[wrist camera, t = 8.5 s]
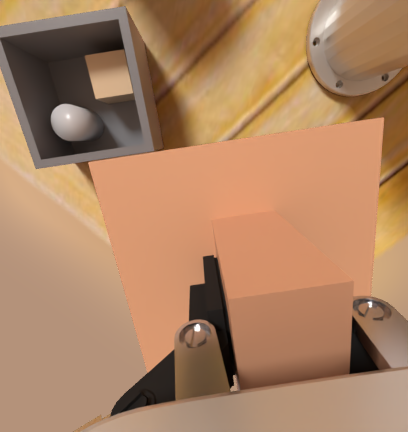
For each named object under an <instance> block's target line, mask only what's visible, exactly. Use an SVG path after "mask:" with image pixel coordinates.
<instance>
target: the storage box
mask: <svg viewBox="0 0 408 432" xmlns="http://www.w3.org/2000/svg"><path fill="white" fill-rule="evenodd" d="M0 68H1V71H2V74H3V76H4V79H5V82H6V85H7V88H8V91H9V94H10V96H11V99H12V102H13V105H14V108H15V111H16V114H17V116H18V119H19V122H20V125H21V128H22V131H23V134H24V136H25V139H26V142H27V145H28V148H29V151H30V154H31V156H32V159H33V162H34V165H35V168H36V169H39V168H46V167H53V166H59V165H66V164H72V163H79V162H86V161H92V160H99V159H105V158H112V157H118V156H125V155H132V154H138V153H145V152H151V151H156V150H160V149H163V148H164V145H163V140H162V135H161V129H160V124H159V119H158V113H157V108H156V103H155V97H154V92H153V87H152V81H151V76H150V71H149V66H148V60H147V55H146V50H145V44H144V41H143V39H142V37H141V35H140V33H139V31H138V29H137V28H136V26H135V24H134V22H133V20H132V18H131V16H130V14H129V12H128V11H127V9H126V7H125V6H124V7H118V8H112V9H105V10H99V11H93V12H86V13H80V14H74V15H67V16H61V17H55V18H49V19H42V20H36V21H30V22H23V23H17V24H11V25H4V26H0Z"/></svg>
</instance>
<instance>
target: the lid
mask: <svg viewBox="0 0 408 432" xmlns="http://www.w3.org/2000/svg"><path fill="white" fill-rule="evenodd" d="M383 127H384V117H383V118H374V119H367V120H361V121H354V122H348V123H341V124H334V125H328V126H321V127H315V128H308V129H302V130H295V131H288V132H282V133H275V134H269V135H262V136H256V137H249V138H242V139H236V140H229V141H223V142H216V143H209V144H203V145H196V146H190V147H183V148H177V149H170V150H163V151H157V152H150V153H144V154H137V155H130V156H124V157H117V158H111V159H104V160H98V161H92V162H88V165H89V168H90V172H91V175H92V179H93V182H94V186H95V189H96V193H97V196H98V200H99V203H100V207H101V210H102V214H103V217H104V221H105V224H106V228H107V231H108V235H109V238H110V242H111V245H112V249H113V253H114V256H115V260H116V263H117V267H118V270H119V274H120V277H121V281H122V284H123V287H124V291H125V295H126V298H127V302H128V305H129V309H130V312H131V315H132V319H133V323H134V326H135V330H136V333H137V337H138V340H139V344H140V347H141V351H142V355H143V358H144V361H145V365H146V369H147V372H149V371H150V370H152V369H153V368H154V367H155V366H156V365H157V364H158V363H159V362H160V361H162V360H163V359H164V358H165V357H166V356H167V355H168V354H169V353H171V352H172V351H173V350H174V338H175V333H176V332H177V330H178V329H179V328H180V327H181V326H182V325H183V324H185V323H186V322H189V298H190V285H197V284H203V283H205V281H204V267H203V256H209V255H214V258H216V257H217V259H218V264H219V269H220V275H221V280H222V285H223V290H224V295H225V301H226V306H227V312H228V319H229V326H230V333H231V341H232V348H233V355H234V362H235V369H236V375H235V378H236V383H237V389H238V391H239V390H246V389H252V388H259V387H266V386H272V385H279V384H286V383H293V382H300V381H306V380H313V379H320V378H327V377H334V376H341V375H348V374H349V373H350V352H351V331H352V311H353V296H354V297H356V296H370V297H371V289H372V275H373V262H374V249H375V235H376V222H377V208H378V195H379V181H380V168H381V154H382V141H383Z"/></svg>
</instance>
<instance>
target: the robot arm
mask: <svg viewBox="0 0 408 432" xmlns="http://www.w3.org/2000/svg"><path fill="white" fill-rule="evenodd" d="M312 42H313V43H314V44H315V46H314V45H313V43H312ZM306 52H307V59H308V62H309V65H310V68H311V71H312V73H313V74H314V76H315V78H316V79H317V81H318V82H319V83H320V84H321V85H322V86H323V87H324V88H326V89H327V90H329V91H330V92H332V93H335V94H337V95H341V96H347V97H349V96H359V95H364V94H367V93H370V92H373V91H376V90H377V89H379V88H381V87H383V86H384V85H386V84H387V83H388V82H389V81H391V80H392V79H393V78H394V77H395V76H396V75H397V74H398V73H399V72H400V70H401V69H402V68H403V67H405V66H408V0H320V1H319V2H318V4H317V6H316V8H315V10H314V12H313V14H312V17H311V20H310V22H309V26H308V31H307V36H306ZM336 84H337V87H336ZM203 267H204V281H205V283H203V284H197V285H190V298H189V322H186V323H185V324H183V325H182V326H181V327H180V328H179V329H178V330H177V332H176V333H175V338H174V350H173V351H172V352H171V353H169V354H168V355H167V356H166V357H165V358H164V359H163V360H162V361H160V362H159V363H158V364H157V365H156V366H155V367H154V368H153V369H152V370H150V371H149V372H148V373H147V374H146V375H145V376H144V377H143V378H142V379H140V380H139V381H138V382H137V383H136V384H135V385H134V386H133V387H132V388H131V389H129V390H128V391H127V392H126V393H125V394H124V395H123V396H122V397H121V398H120V399H119V400H118V401H117V402H116V405H115V406H114V408H113V409H112V412H111V414H109V415H108V416H107V417H104V418H102V416H101V415H100V416H98V417H97V418H95V419H93V420H91V421H90V422H88V423H86V424H85V425H83V426H81V427H80V428H78V429H77V430H75V431H73V432H408V321H407V320H406V319H405V318H404V317H403V316H402V315H401V314H400V313H399V312H398V311H397V310H396V309H395V308H394V307H393V306H391V305H390V304H389V303H387V302H385V301H383V300H381V299H378V298H375V297H370V296H356V297H354V296H353V311H352V331H351V352H350V373H349V374H348V375H341V376H334V377H327V378H320V379H313V380H306V381H300V382H293V383H286V384H279V385H272V386H266V387H259V388H252V389H246V390H239V391H233V392H231V391H230V388H231V387H232V386H234V382H233V375H236V369H235V362H234V355H233V348H232V341H231V333H230V326H229V319H228V312H227V306H226V301H225V295H224V290H223V285H222V280H221V275H220V269H219V264H218V259H217V257H216V258H214V255H209V256H203Z"/></svg>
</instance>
